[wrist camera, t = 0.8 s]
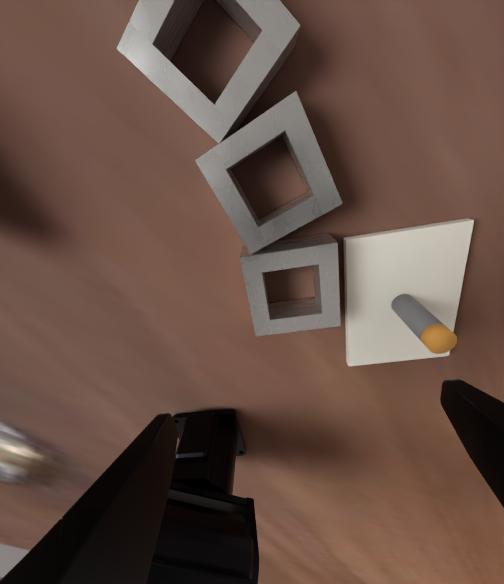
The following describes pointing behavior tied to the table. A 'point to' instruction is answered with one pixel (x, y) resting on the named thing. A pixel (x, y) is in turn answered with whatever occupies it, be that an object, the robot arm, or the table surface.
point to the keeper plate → (404, 291)
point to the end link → (301, 311)
